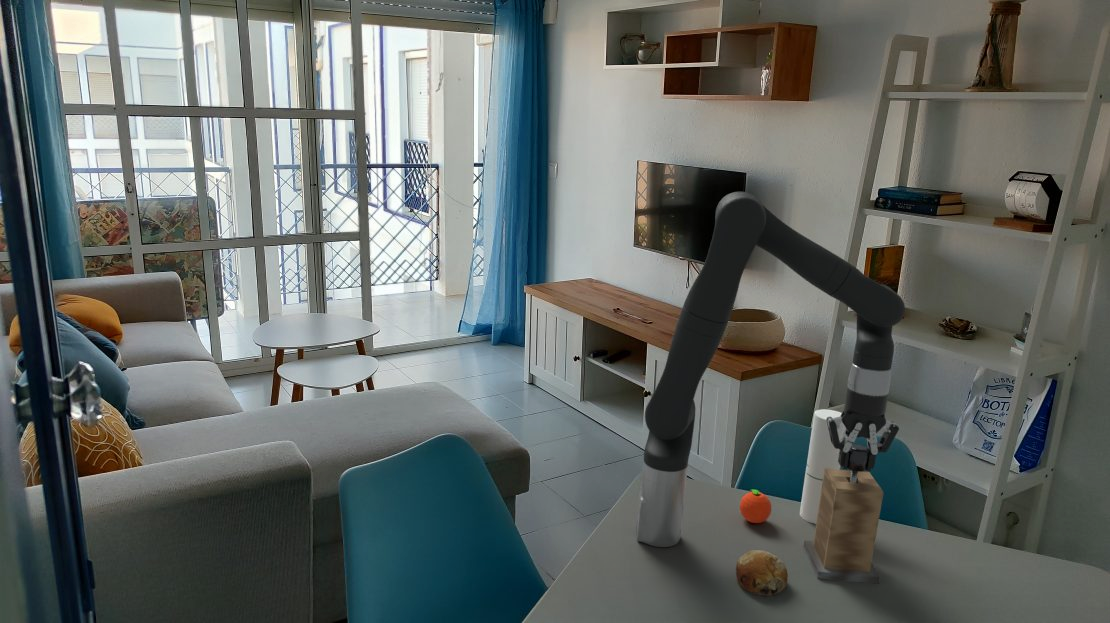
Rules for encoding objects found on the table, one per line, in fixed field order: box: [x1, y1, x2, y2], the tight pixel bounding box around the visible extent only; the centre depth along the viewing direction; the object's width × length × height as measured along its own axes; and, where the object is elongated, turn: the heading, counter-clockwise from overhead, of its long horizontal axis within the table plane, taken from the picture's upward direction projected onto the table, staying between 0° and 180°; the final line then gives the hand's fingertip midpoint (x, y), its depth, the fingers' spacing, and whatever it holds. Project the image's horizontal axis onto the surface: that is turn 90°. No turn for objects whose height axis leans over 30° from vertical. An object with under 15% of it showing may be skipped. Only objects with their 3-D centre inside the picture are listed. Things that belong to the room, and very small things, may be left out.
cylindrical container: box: [799, 408, 846, 525], centre depth 181 cm, size 7×7×25 cm
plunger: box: [847, 444, 869, 483], centre depth 161 cm, size 7×7×24 cm
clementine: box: [739, 489, 772, 524], centre depth 180 cm, size 8×7×7 cm
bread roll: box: [735, 549, 789, 597], centre depth 156 cm, size 10×10×8 cm
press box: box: [803, 469, 884, 584], centre depth 162 cm, size 12×12×19 cm
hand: (855, 468), depth 159 cm, fingers closed on plunger, 4 cm apart
